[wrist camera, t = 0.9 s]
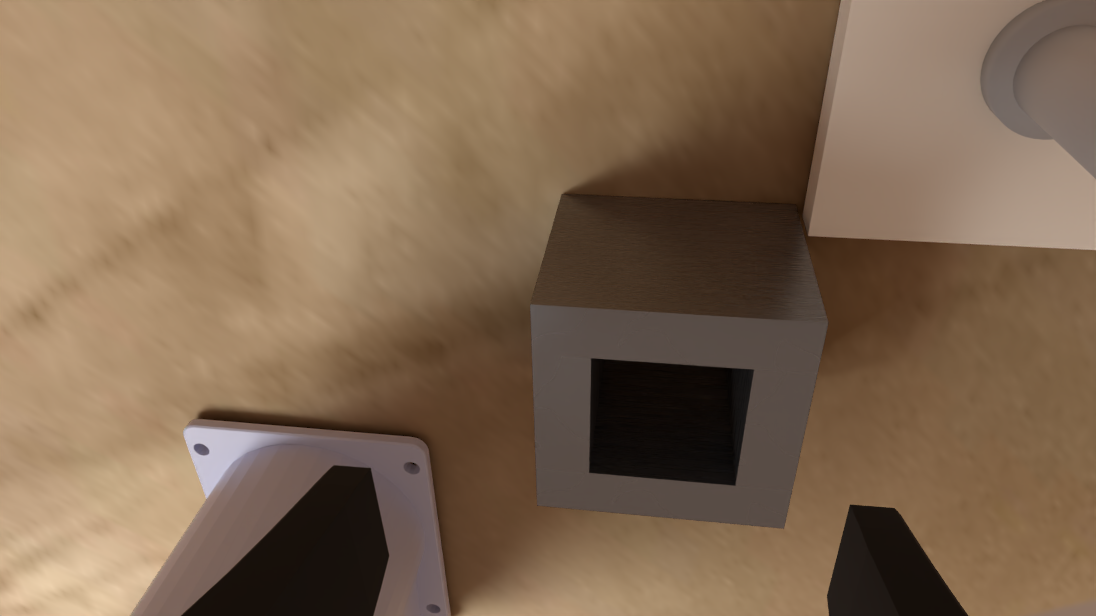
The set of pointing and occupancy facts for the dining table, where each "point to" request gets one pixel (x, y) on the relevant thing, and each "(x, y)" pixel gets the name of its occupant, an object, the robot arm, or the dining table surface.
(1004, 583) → the dining table surface
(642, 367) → the collar
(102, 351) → the dining table surface
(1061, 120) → the post block
